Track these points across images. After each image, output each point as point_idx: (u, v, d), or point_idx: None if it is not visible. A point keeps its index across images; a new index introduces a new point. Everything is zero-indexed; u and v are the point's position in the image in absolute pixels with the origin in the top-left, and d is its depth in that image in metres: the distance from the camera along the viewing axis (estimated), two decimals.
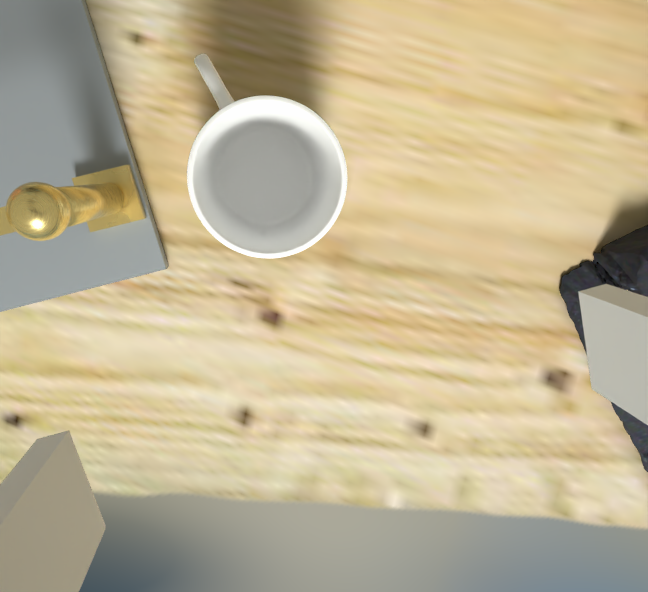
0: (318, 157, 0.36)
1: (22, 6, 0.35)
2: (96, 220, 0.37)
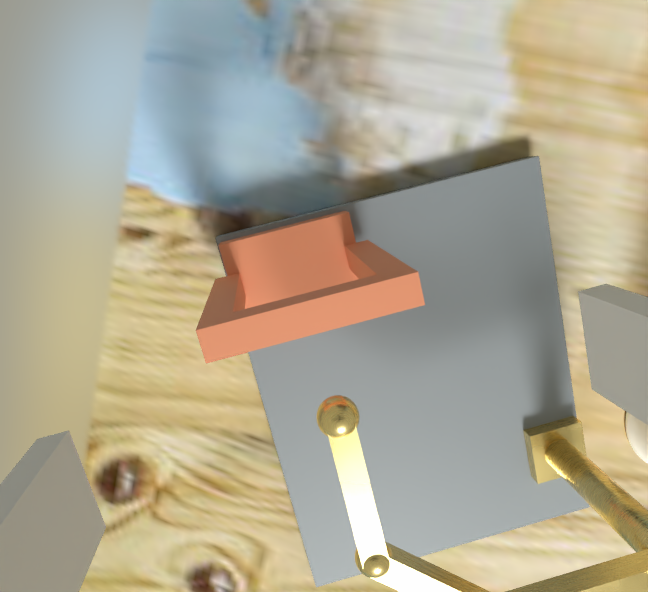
0: None
1: (501, 278, 0.36)
2: (545, 473, 0.38)
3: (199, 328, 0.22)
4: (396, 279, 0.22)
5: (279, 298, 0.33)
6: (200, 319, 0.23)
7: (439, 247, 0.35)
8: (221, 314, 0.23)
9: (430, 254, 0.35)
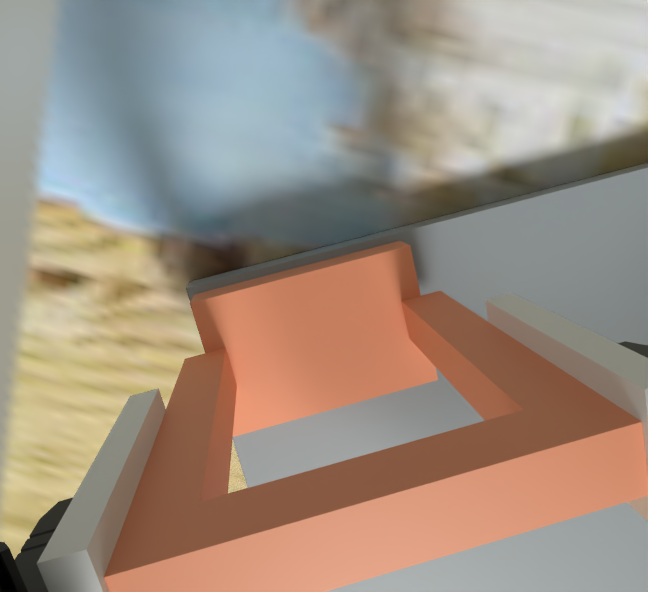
0: None
1: None
2: None
3: (113, 568, 0.09)
4: (592, 441, 0.09)
5: (292, 388, 0.20)
6: (126, 516, 0.10)
7: (547, 298, 0.22)
8: (174, 504, 0.10)
9: None
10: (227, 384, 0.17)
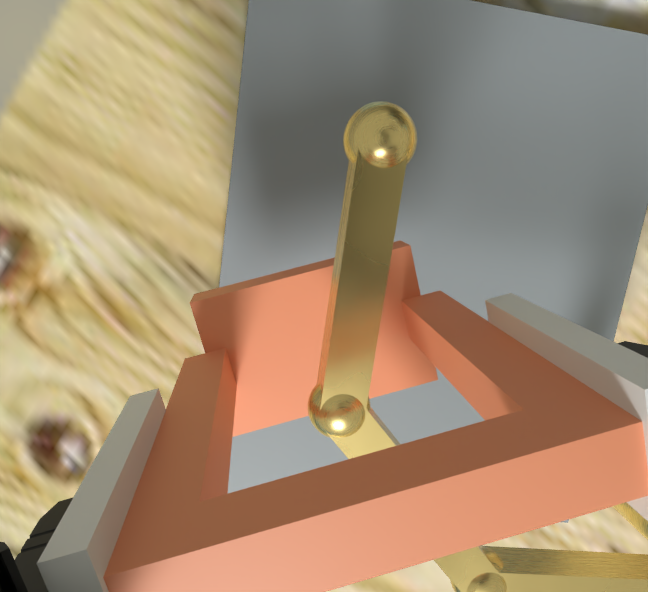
0: None
1: (583, 182, 0.27)
2: None
3: (112, 568, 0.09)
4: (592, 441, 0.09)
5: (292, 388, 0.20)
6: (126, 516, 0.10)
7: (527, 106, 0.26)
8: (174, 504, 0.10)
9: (513, 110, 0.26)
10: (227, 384, 0.17)
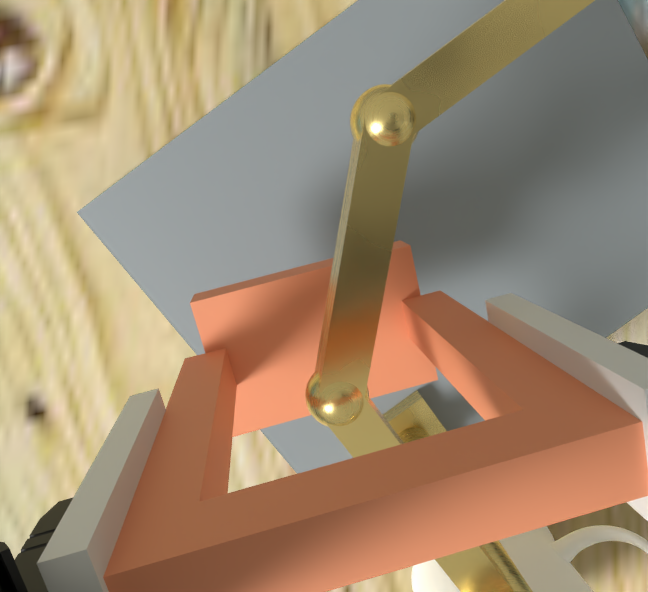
0: None
1: (594, 267, 0.28)
2: None
3: (112, 568, 0.09)
4: (592, 441, 0.09)
5: (292, 387, 0.20)
6: (126, 516, 0.10)
7: (611, 171, 0.27)
8: (174, 504, 0.10)
9: (600, 164, 0.27)
10: (227, 384, 0.17)
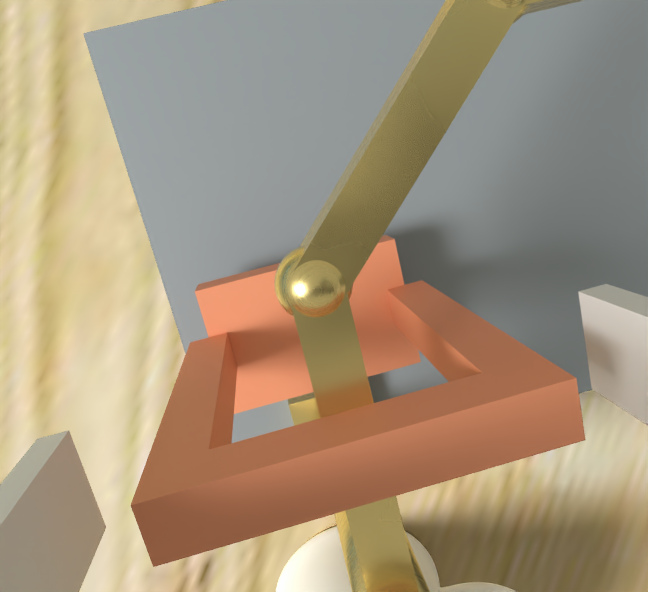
0: None
1: None
2: (306, 414, 0.25)
3: (139, 499, 0.11)
4: (534, 394, 0.11)
5: (288, 369, 0.22)
6: (147, 462, 0.12)
7: (638, 229, 0.26)
8: (187, 453, 0.12)
9: (631, 217, 0.25)
10: (229, 363, 0.19)
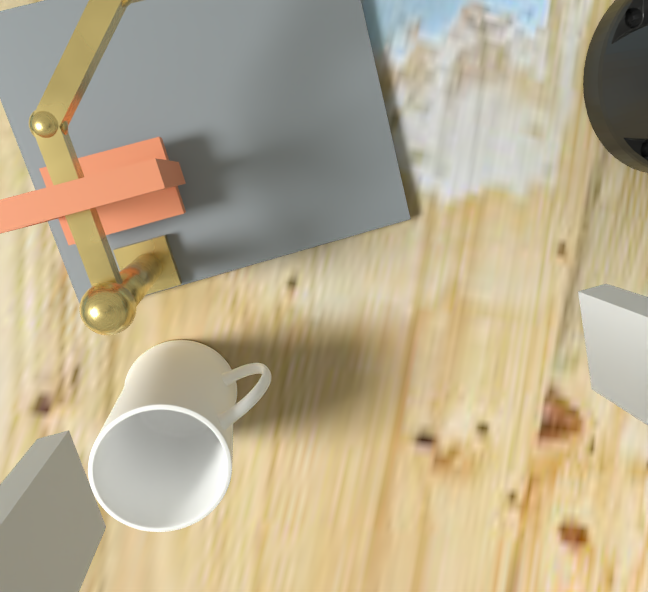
0: (196, 458, 0.41)
1: (310, 197, 0.41)
2: (125, 256, 0.39)
3: None
4: (136, 165, 0.26)
5: (100, 217, 0.36)
6: None
7: (337, 138, 0.41)
8: None
9: (331, 130, 0.40)
10: None
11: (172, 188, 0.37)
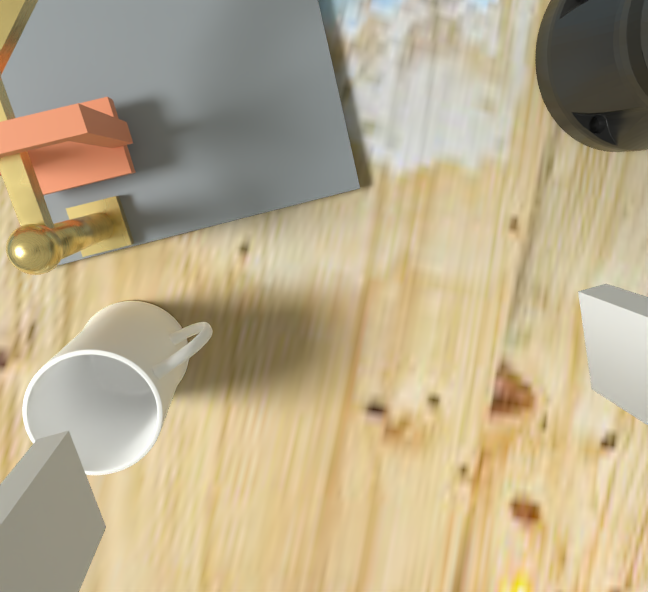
0: (142, 413, 0.42)
1: (260, 164, 0.42)
2: (77, 215, 0.41)
3: None
4: (59, 109, 0.27)
5: (50, 173, 0.38)
6: None
7: (287, 106, 0.42)
8: None
9: (281, 98, 0.41)
10: None
11: (120, 147, 0.38)
